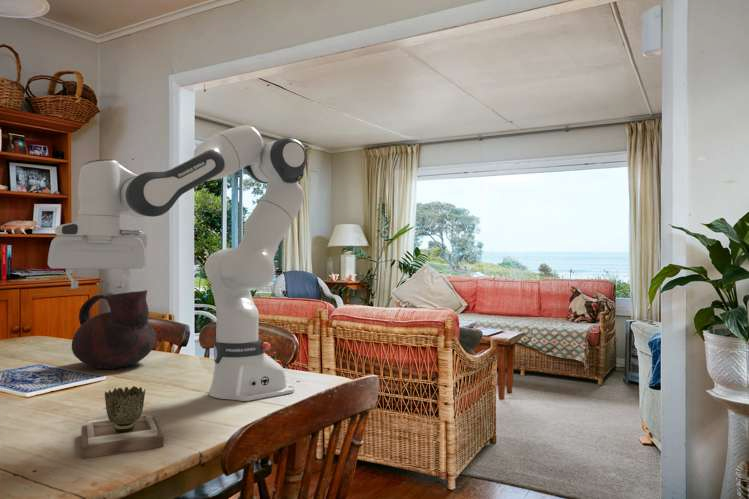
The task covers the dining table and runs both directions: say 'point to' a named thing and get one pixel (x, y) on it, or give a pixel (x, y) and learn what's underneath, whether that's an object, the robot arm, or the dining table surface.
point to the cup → (124, 407)
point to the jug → (114, 331)
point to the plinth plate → (120, 437)
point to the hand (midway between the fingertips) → (97, 288)
